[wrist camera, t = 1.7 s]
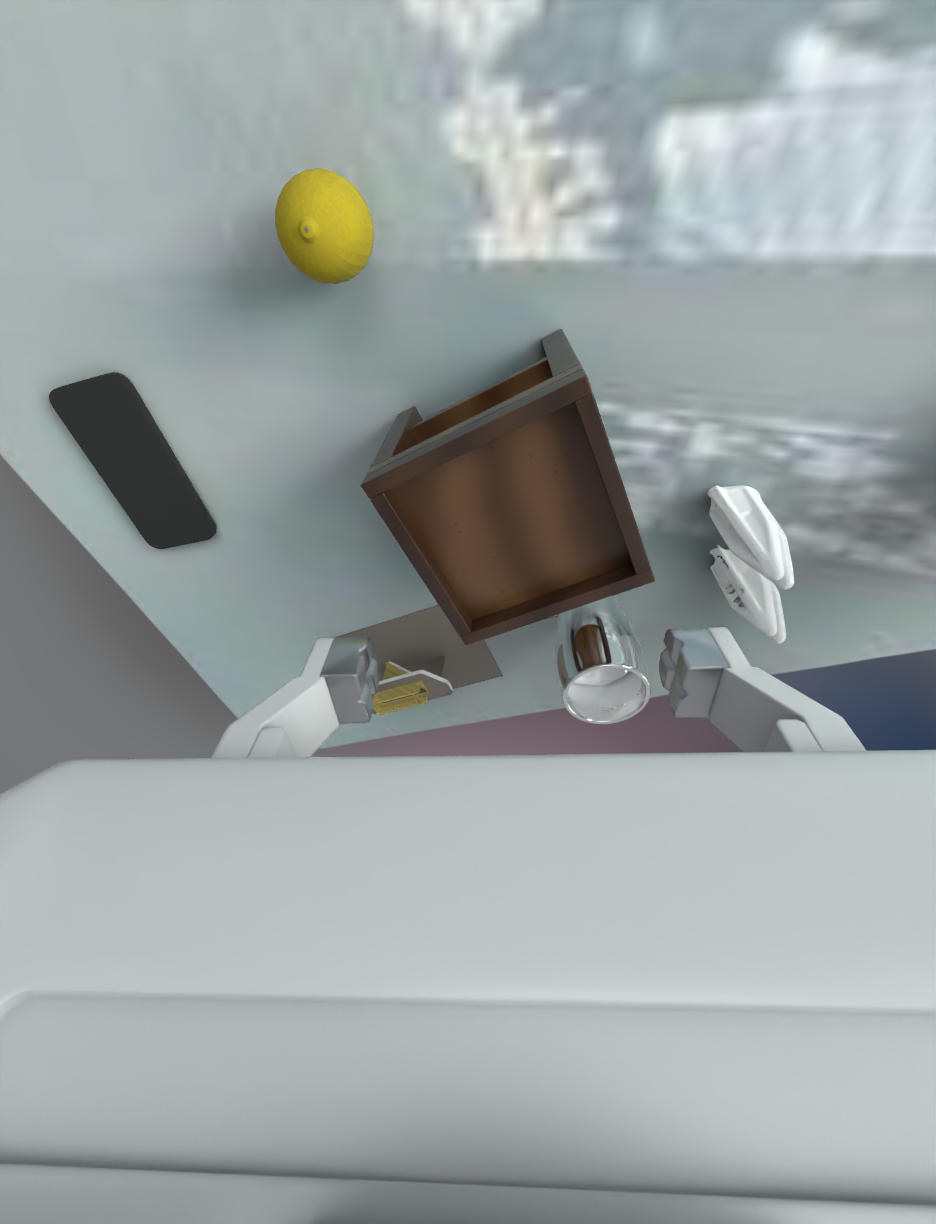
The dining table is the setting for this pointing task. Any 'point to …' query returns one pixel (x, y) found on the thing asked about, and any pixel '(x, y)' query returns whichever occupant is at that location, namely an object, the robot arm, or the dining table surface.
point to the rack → (511, 500)
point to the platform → (423, 659)
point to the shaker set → (751, 558)
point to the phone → (133, 459)
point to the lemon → (324, 226)
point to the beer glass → (600, 663)
